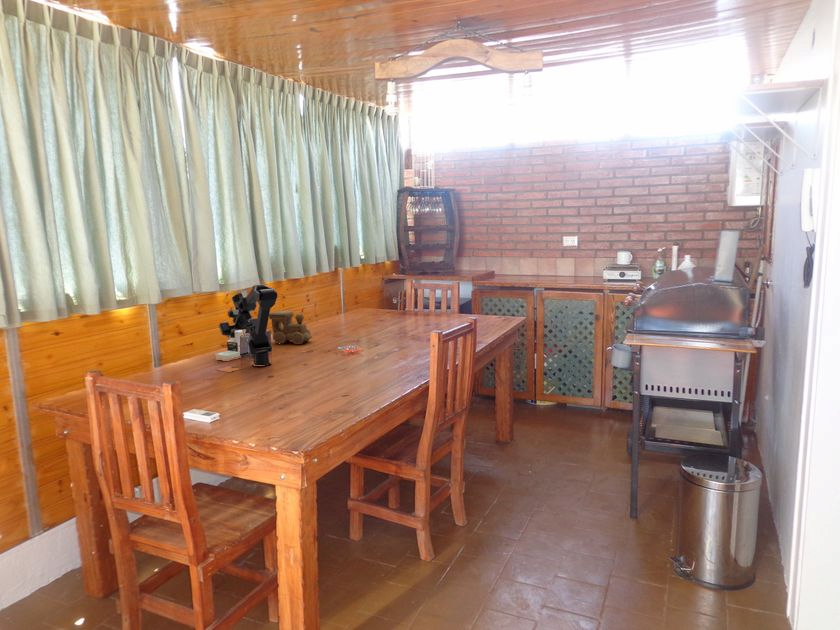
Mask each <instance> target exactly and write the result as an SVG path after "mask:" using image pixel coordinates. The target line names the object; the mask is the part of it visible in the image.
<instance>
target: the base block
mask: <svg viewBox="0 0 840 630" xmlns="http://www.w3.org/2000/svg"><path fill="white" fill-rule="evenodd" d="M214 355H215V358H216V357H218V358H223V359H230V358H234V357H238V356H240V357H241V355H240V352H235V351H228V350H226V351H222V352H221V351H220V352H218V353H217V352H216V353H214Z"/></svg>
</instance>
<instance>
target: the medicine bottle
mask: <svg viewBox="0 0 840 630" xmlns="http://www.w3.org/2000/svg"><path fill="white" fill-rule="evenodd" d="M230 334H231V335H230V337H229V338H230V339H229V340H227V341H226V347H227V350H226V351H235V352H239V351H240V347H239V345H240V336H241V335H243V336H244V332H243V330H232V331H231V333H230Z"/></svg>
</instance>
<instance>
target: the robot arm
mask: <svg viewBox="0 0 840 630" xmlns="http://www.w3.org/2000/svg"><path fill="white" fill-rule="evenodd" d="M231 300H232V303H233V305H234V308H235V309H231V310H230V309H229V310H227V316H228V318H232V323H234V324H233V325H230V323H229V322H228V321H224V322H220V323H219V325H218V328H219V329H220V333H221V335H222V336H224V337H225V336H226V339H229V338H231V337H230V335H231V334H230V333H231V331H232V330H242V331H243V330H245V332H244V335H245V334H246V333H250V334H249V339H248V340H247V341H248V351H249V353H250V354H251V355H253V364H255V365H267V364H269V363H270V357H269V353H271V352H273V351H272V349H273V348H272V345H271V343H270V340H269V337H268V335H267V329H268V324H269V320H270V319H269V314H270V313H271V310H272V308H273V307H274V306H275V305H276V302H277V300H278V292H277V291H276V289H274V288H273V287H270V286H267V285H266V284H264V283H260V284H254V285H253V286H252V287H251V290H250V291H249V292H248V294H247V295H246V297H245V295H244V294H243V292H237V294H235V295H233V296H232V297H231ZM257 303H258V305H257ZM257 306H258V312H257V316H256V318H255V317H254V318H253V317H252V311H255V310H256V308H257Z"/></svg>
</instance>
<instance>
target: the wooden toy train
mask: <svg viewBox="0 0 840 630" xmlns="http://www.w3.org/2000/svg"><path fill="white" fill-rule="evenodd" d="M294 316H295V317H294ZM293 317H294V318H295V320H296V322H297V323H296V322H293ZM304 318H305V316H304V315H303V313H301V312H300V313H297V314H296V315H294V311H291V310H275V311H273V312H270V314H269V319H268V320H271V327H272V340H273V341H274V343H275V344H277V343H278V344H277V345H282V344H281V343H283V344H285V343H286V340H290V341H292V343H293V344H294V345H296V344H301V345H302V344H303V343H304V342H308V341H310V340H311V339H313V335H312V334H311V331H310V330H309V329H308V328H307V323H303V321H304ZM279 343H280V344H279Z"/></svg>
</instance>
